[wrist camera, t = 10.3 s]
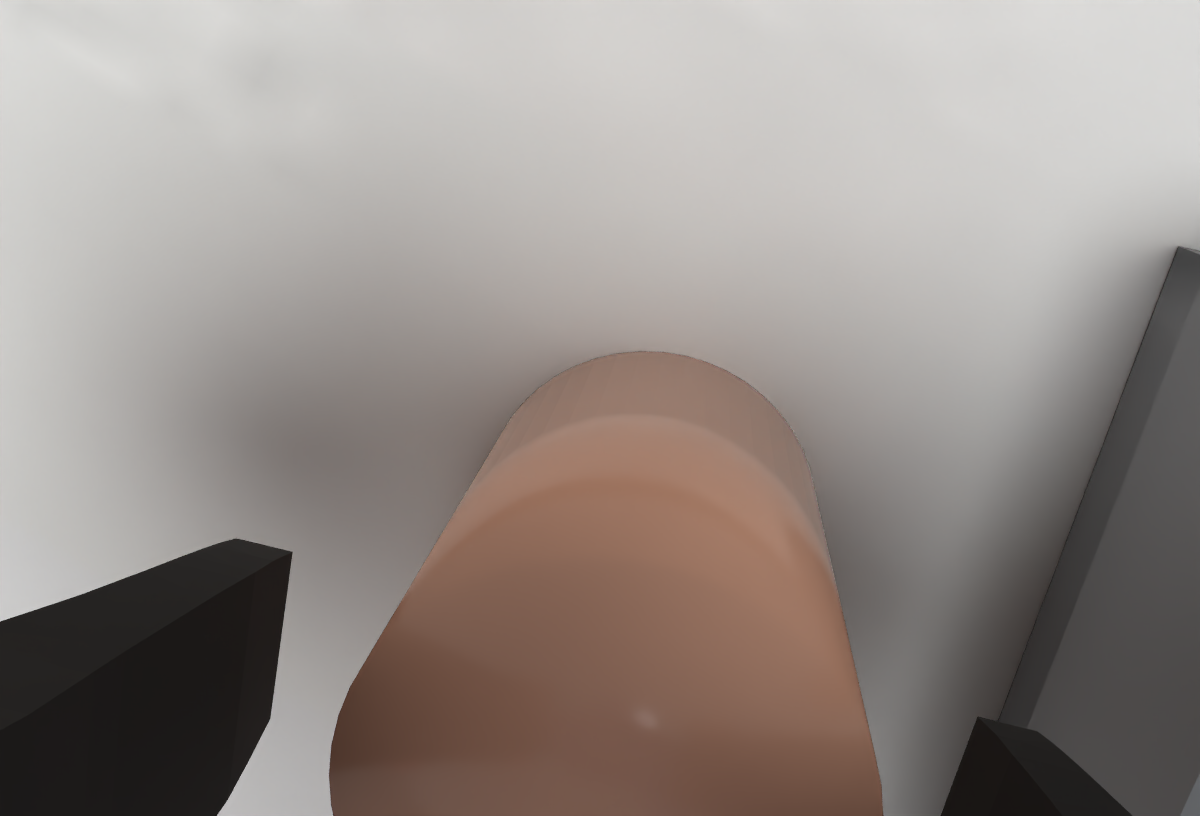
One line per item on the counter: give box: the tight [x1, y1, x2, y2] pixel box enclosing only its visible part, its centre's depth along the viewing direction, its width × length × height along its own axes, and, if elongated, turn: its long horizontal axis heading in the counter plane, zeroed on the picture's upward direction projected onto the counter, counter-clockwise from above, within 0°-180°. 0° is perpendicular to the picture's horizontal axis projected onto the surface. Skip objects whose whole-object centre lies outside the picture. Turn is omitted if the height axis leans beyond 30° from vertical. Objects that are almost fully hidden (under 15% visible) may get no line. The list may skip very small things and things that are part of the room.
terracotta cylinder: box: [329, 351, 883, 816], centre depth 13 cm, size 5×5×7 cm
